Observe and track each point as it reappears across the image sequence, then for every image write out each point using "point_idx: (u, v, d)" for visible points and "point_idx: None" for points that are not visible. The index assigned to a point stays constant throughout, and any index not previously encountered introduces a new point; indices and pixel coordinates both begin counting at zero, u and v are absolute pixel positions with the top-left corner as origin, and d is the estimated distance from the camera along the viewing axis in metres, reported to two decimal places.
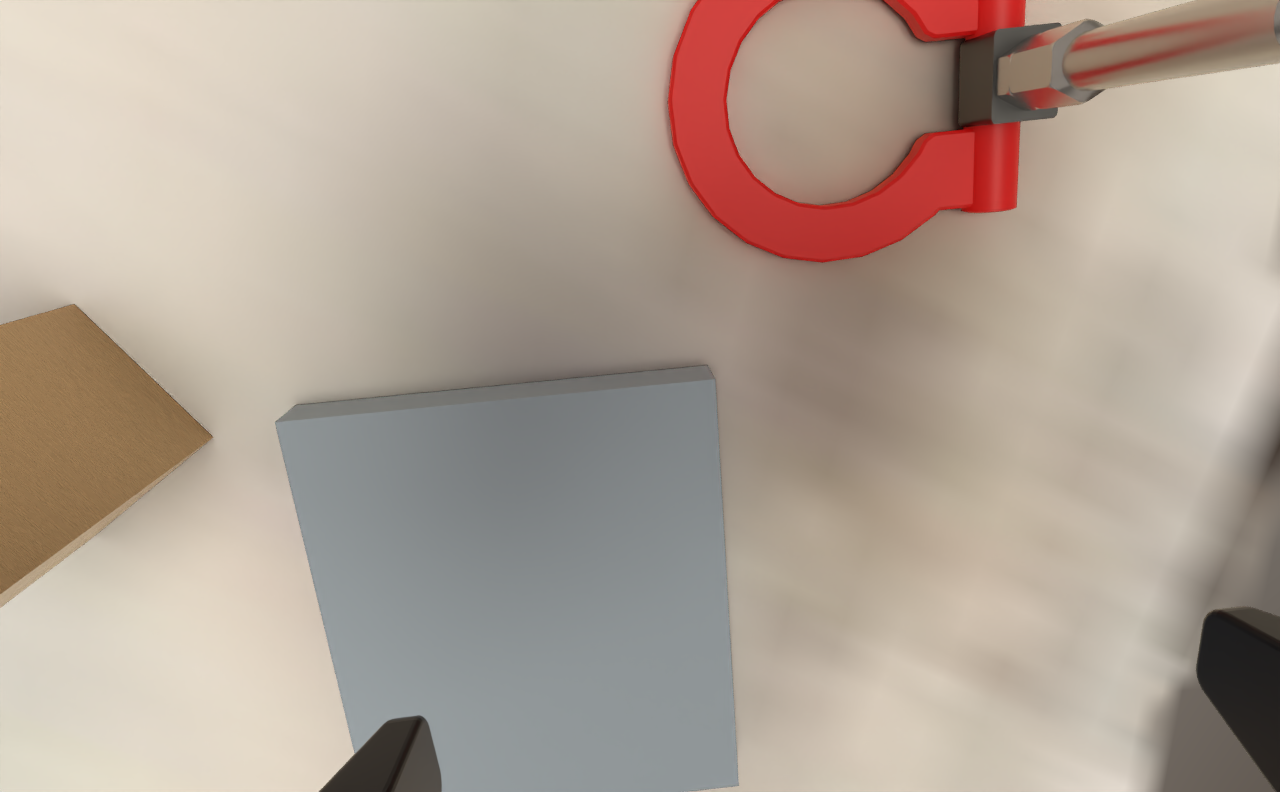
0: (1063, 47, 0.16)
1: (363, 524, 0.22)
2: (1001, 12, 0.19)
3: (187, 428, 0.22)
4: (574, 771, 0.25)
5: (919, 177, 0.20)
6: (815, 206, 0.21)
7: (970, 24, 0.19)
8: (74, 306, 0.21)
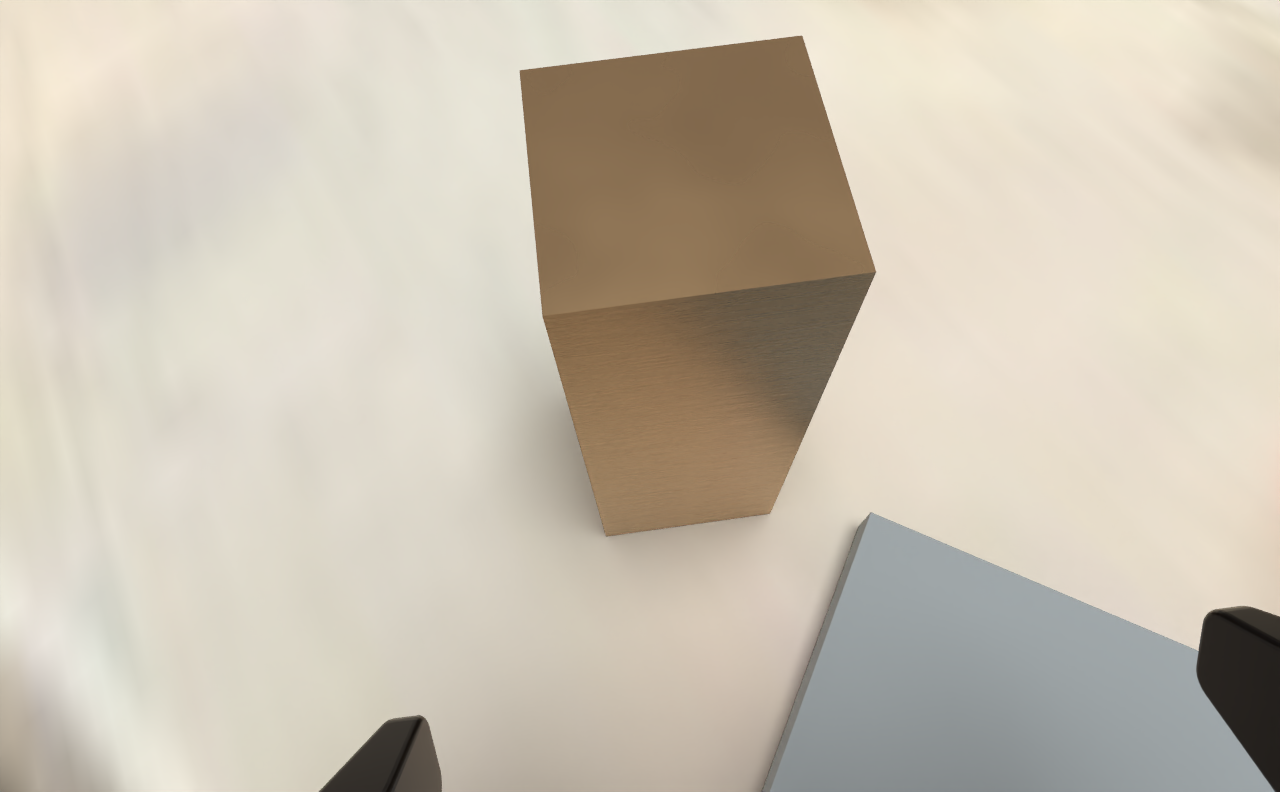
0: None
1: (895, 650, 0.20)
2: None
3: None
4: None
5: None
6: None
7: None
8: None
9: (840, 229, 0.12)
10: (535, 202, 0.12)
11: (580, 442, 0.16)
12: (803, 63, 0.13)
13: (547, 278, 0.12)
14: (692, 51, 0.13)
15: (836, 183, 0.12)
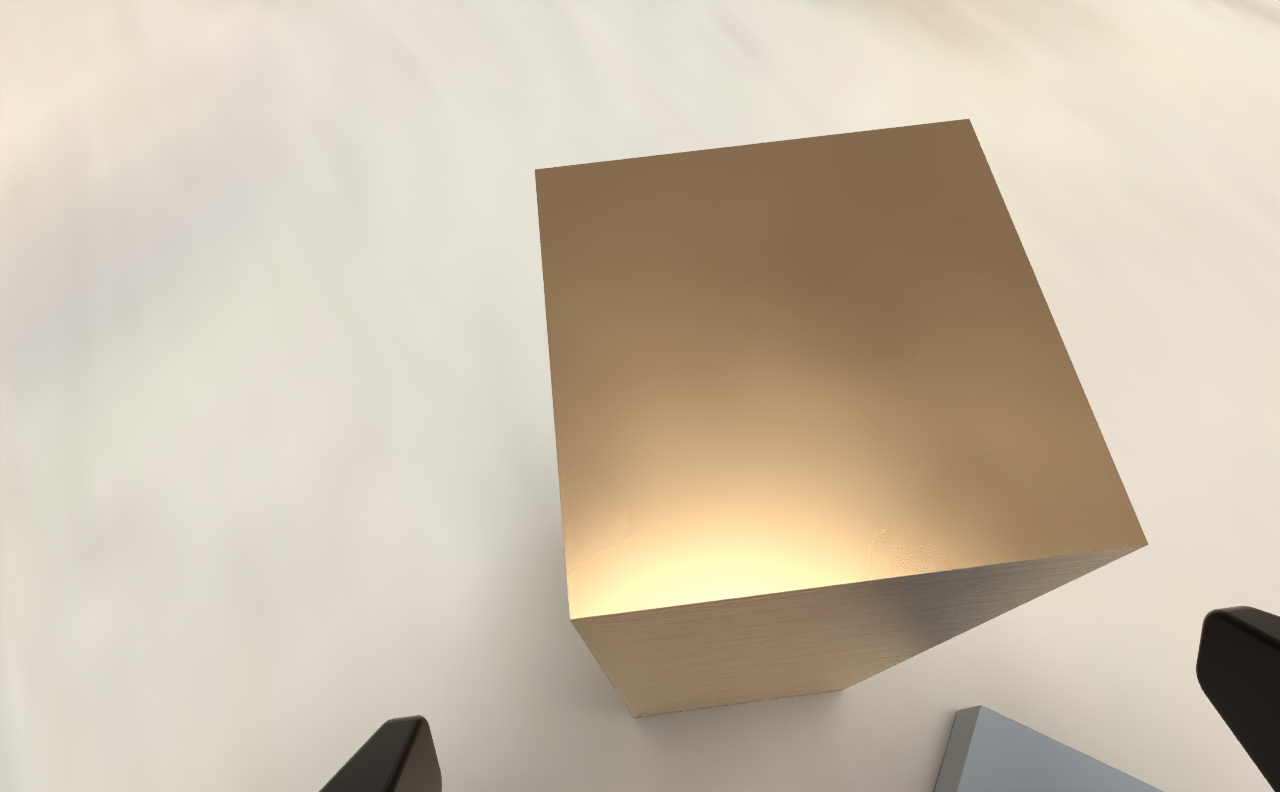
0: None
1: None
2: None
3: None
4: None
5: None
6: None
7: None
8: None
9: (1073, 458, 0.07)
10: (558, 398, 0.07)
11: (613, 683, 0.11)
12: (975, 163, 0.09)
13: (578, 543, 0.07)
14: (801, 144, 0.09)
15: (1055, 371, 0.07)
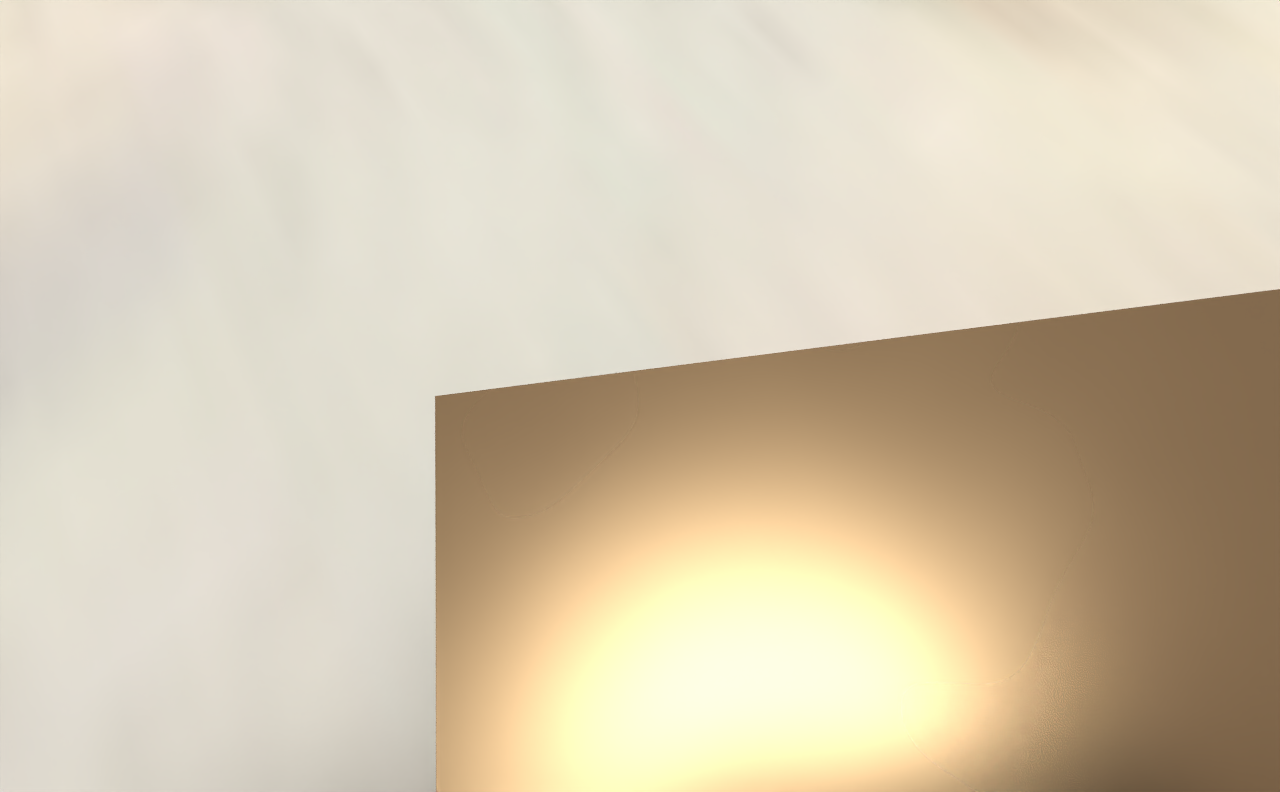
0: None
1: None
2: None
3: None
4: None
5: None
6: None
7: None
8: None
9: None
10: None
11: None
12: None
13: None
14: (1104, 325, 0.03)
15: None
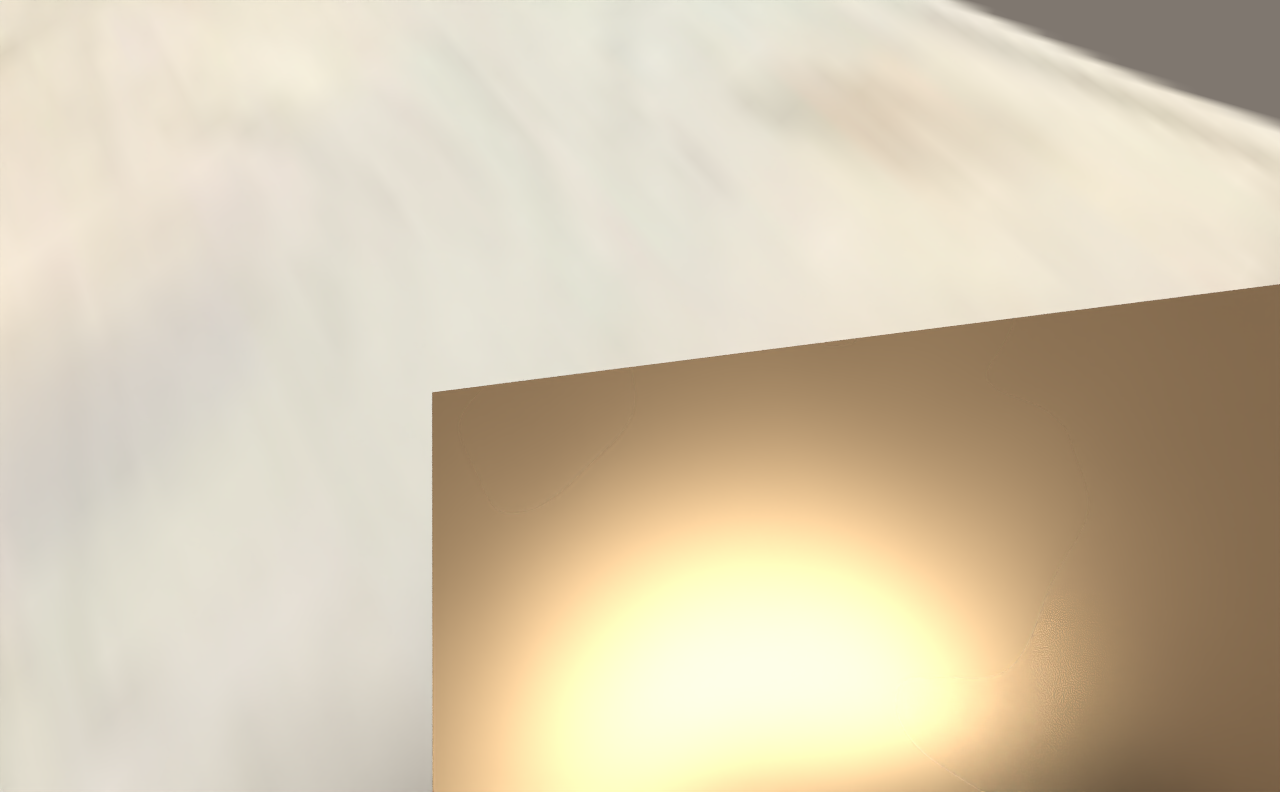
0: None
1: None
2: None
3: None
4: None
5: None
6: None
7: None
8: None
9: None
10: None
11: None
12: None
13: None
14: (1097, 320, 0.03)
15: None
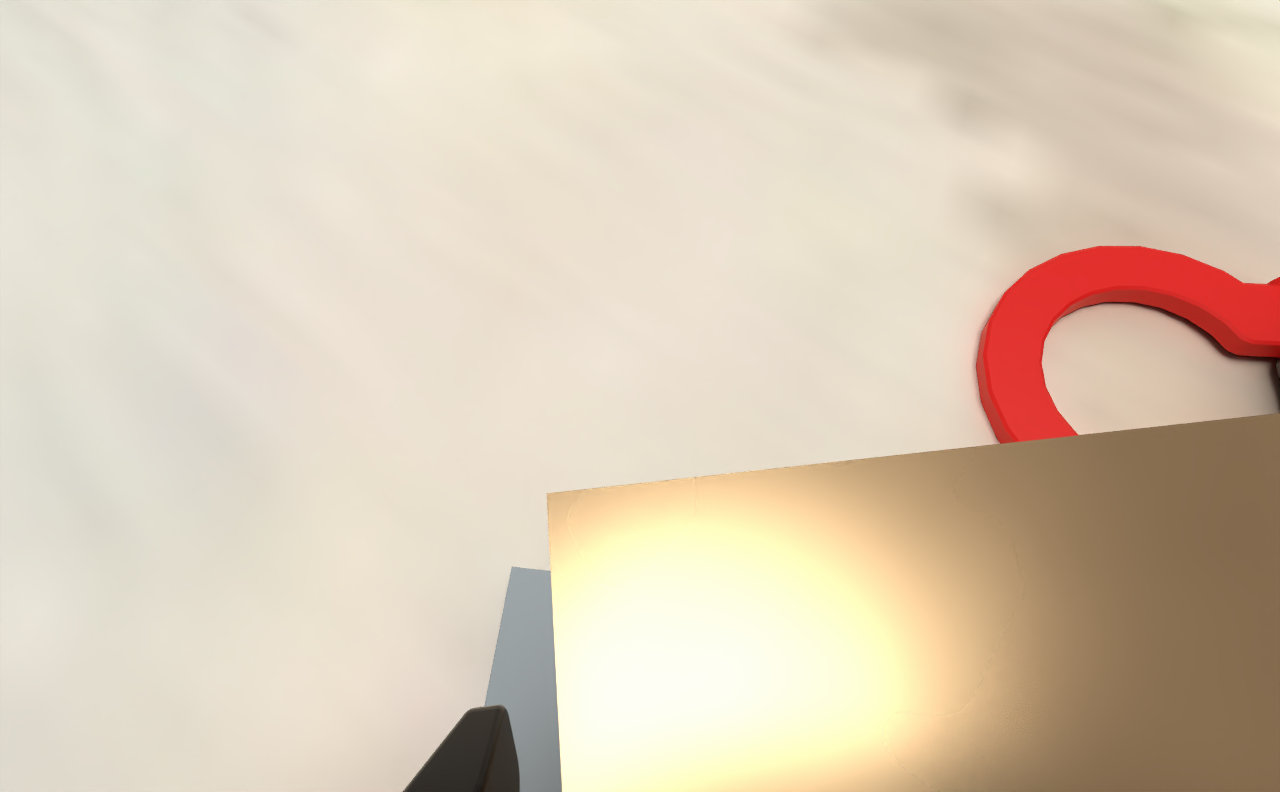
0: None
1: None
2: None
3: None
4: None
5: None
6: None
7: None
8: None
9: None
10: None
11: None
12: None
13: None
14: (1038, 451, 0.05)
15: None
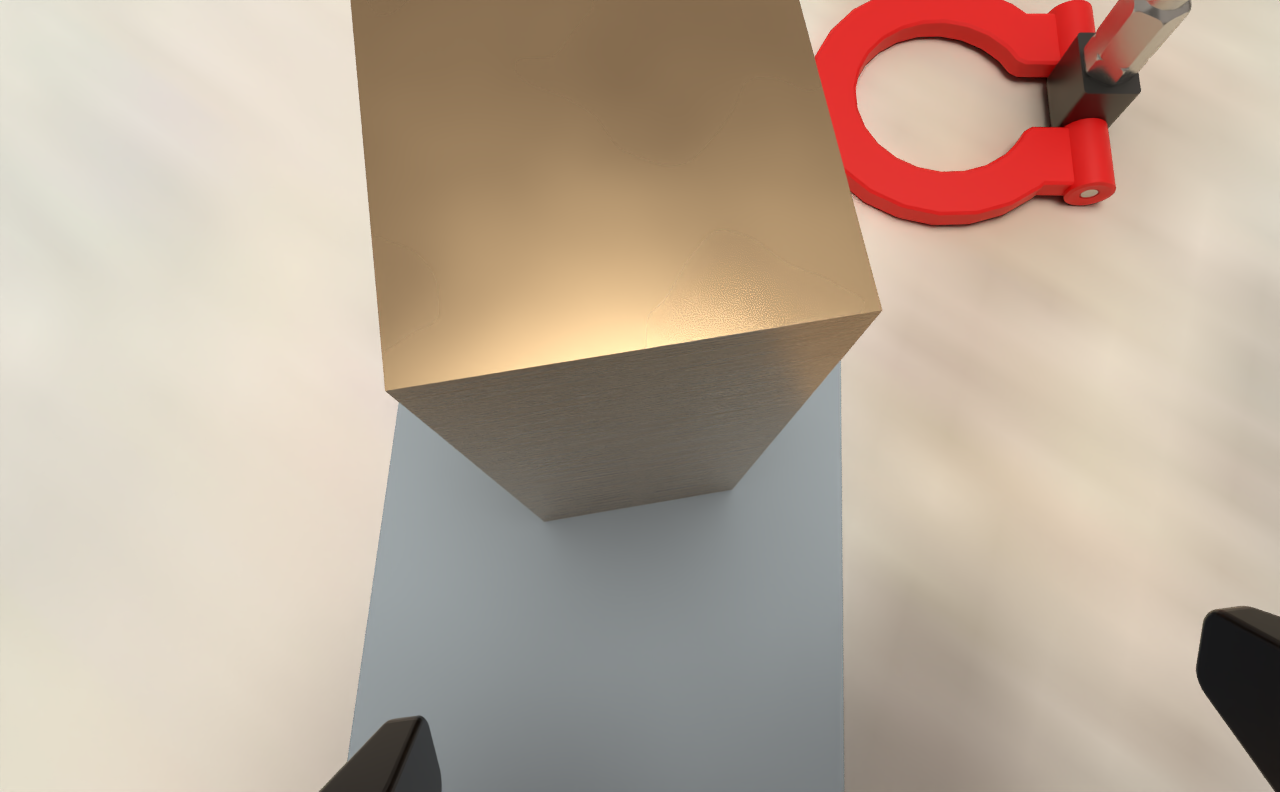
0: None
1: None
2: None
3: None
4: (625, 757, 0.19)
5: (1023, 156, 0.24)
6: (931, 170, 0.24)
7: (1054, 56, 0.24)
8: None
9: (829, 240, 0.08)
10: (373, 199, 0.08)
11: (488, 474, 0.13)
12: None
13: (392, 326, 0.08)
14: None
15: (826, 163, 0.08)
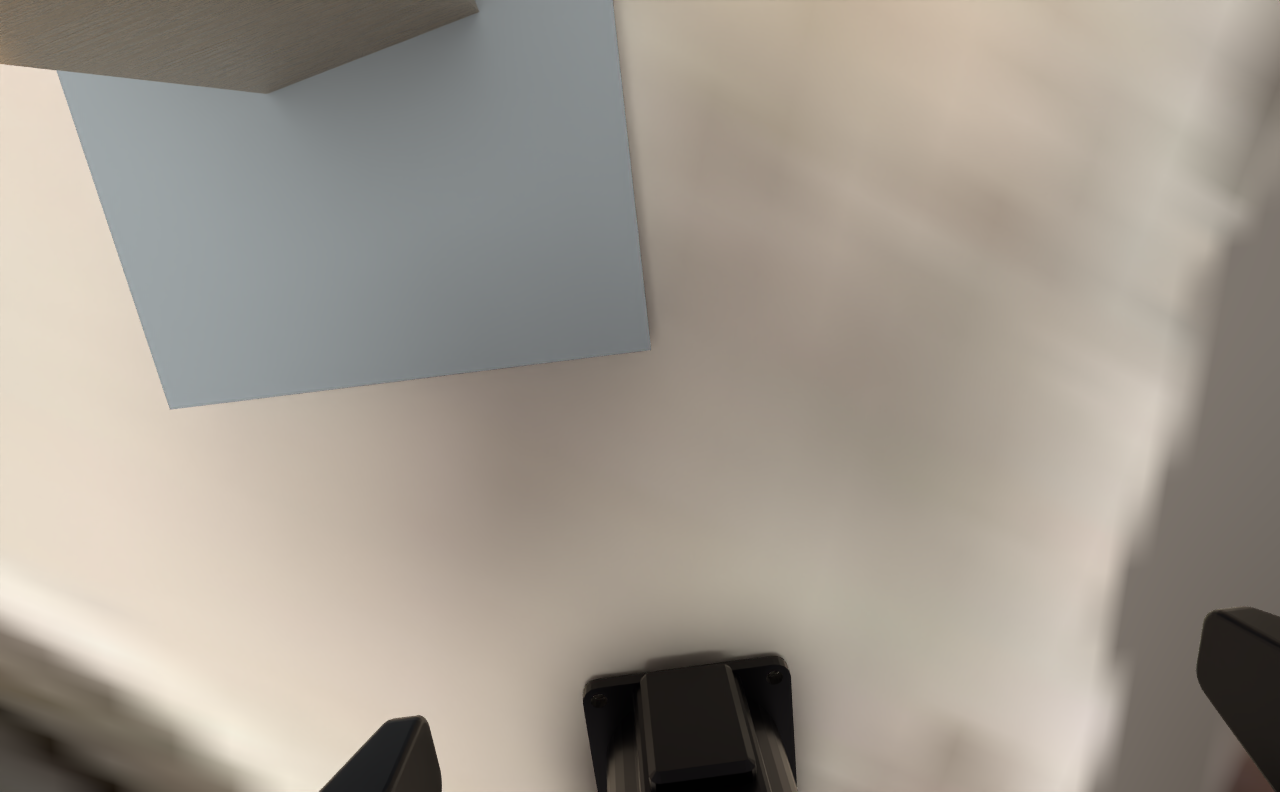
0: None
1: None
2: None
3: None
4: (430, 324, 0.19)
5: None
6: None
7: None
8: None
9: None
10: None
11: (16, 64, 0.09)
12: None
13: None
14: None
15: None
